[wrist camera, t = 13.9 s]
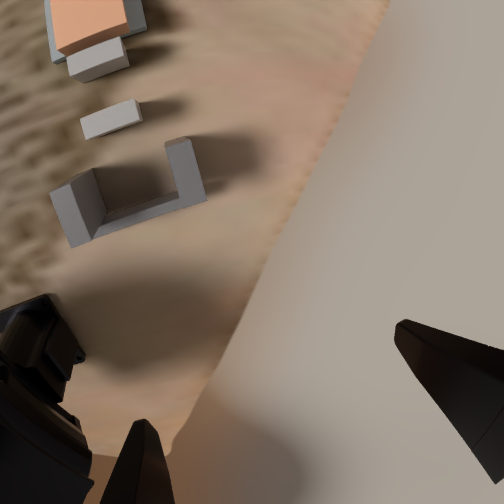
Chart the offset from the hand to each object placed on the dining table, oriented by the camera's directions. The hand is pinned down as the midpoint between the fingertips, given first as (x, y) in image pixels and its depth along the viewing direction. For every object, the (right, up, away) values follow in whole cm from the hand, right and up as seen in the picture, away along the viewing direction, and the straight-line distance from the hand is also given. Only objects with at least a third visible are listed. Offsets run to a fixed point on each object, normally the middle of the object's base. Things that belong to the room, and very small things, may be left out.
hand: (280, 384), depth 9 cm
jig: (-9, +12, +7) cm, 16 cm away
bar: (-11, +20, +1) cm, 23 cm away
